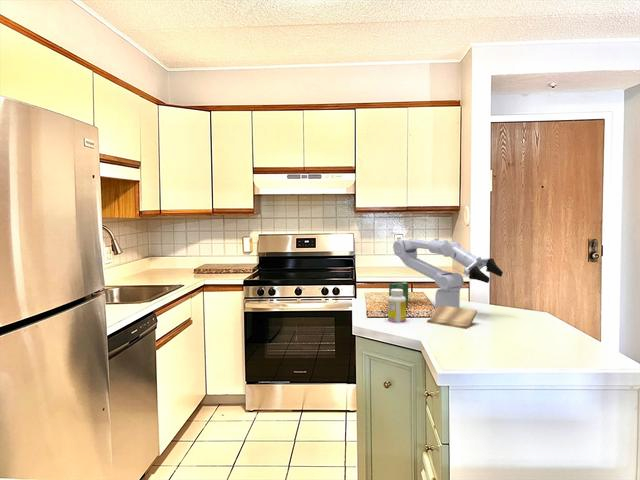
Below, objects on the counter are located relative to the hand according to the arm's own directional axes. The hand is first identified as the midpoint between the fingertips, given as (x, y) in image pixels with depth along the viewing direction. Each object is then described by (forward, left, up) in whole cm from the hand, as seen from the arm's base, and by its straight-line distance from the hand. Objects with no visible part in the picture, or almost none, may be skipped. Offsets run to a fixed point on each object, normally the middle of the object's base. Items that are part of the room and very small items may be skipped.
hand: (495, 277), depth 183 cm
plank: (-10, -15, -14) cm, 22 cm away
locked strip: (-10, -20, -16) cm, 28 cm away
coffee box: (-34, -13, -17) cm, 40 cm away
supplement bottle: (-28, -25, -17) cm, 41 cm away
